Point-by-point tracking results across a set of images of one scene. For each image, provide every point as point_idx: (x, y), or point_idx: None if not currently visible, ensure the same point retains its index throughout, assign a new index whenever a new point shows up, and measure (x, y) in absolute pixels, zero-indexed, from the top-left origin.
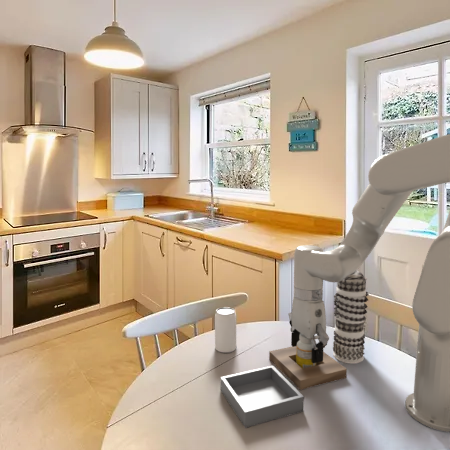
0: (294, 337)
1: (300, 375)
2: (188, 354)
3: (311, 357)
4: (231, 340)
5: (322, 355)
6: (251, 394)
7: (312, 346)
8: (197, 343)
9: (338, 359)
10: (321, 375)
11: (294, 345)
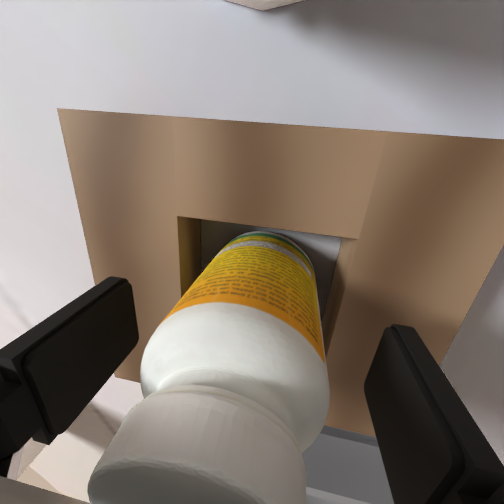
0: (86, 394)
1: (364, 417)
2: (62, 466)
3: (372, 421)
4: (23, 450)
5: (433, 367)
6: (312, 501)
7: (316, 424)
8: None
9: (285, 1)
10: (444, 351)
11: (134, 337)
